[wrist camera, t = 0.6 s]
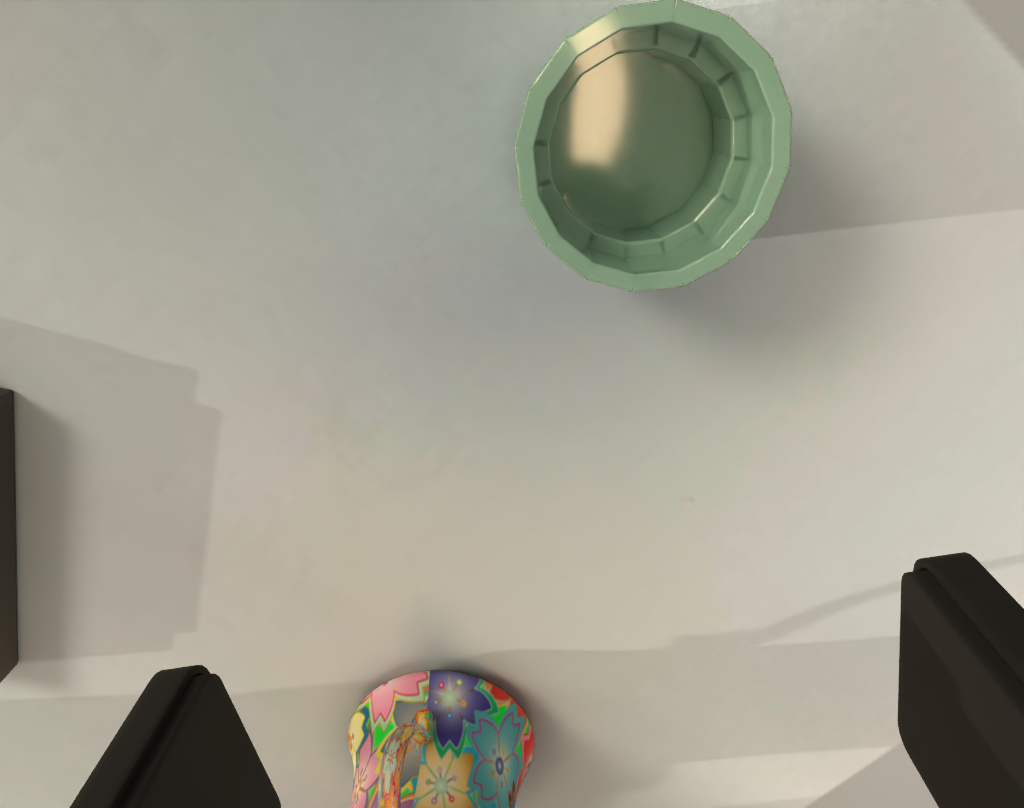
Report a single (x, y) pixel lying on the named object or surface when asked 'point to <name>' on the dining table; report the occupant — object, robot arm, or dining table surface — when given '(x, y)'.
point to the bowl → (653, 145)
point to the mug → (438, 744)
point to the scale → (7, 539)
